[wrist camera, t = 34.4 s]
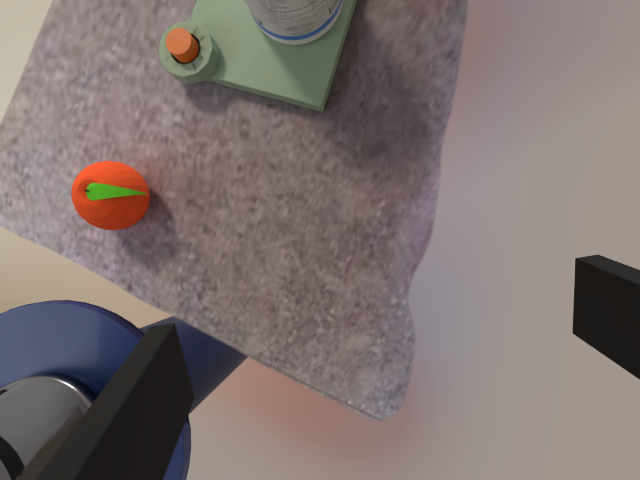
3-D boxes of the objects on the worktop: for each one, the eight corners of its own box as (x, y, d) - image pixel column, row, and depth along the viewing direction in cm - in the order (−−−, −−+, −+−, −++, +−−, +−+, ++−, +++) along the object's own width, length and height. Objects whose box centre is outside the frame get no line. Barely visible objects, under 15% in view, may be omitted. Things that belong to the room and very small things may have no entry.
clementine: (172, 167, 41) (132, 151, 34) (172, 231, 41) (132, 228, 34) (104, 169, 42) (51, 154, 35) (103, 231, 42) (51, 228, 35)
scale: (170, 83, 41) (152, 68, 38) (212, -62, 41) (198, -90, 38) (319, 124, 39) (315, 112, 36) (365, -28, 39) (366, -54, 36)
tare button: (171, 59, 38) (162, 50, 36) (178, 34, 38) (169, 24, 36) (195, 65, 38) (186, 57, 36) (202, 40, 38) (194, 31, 36)
